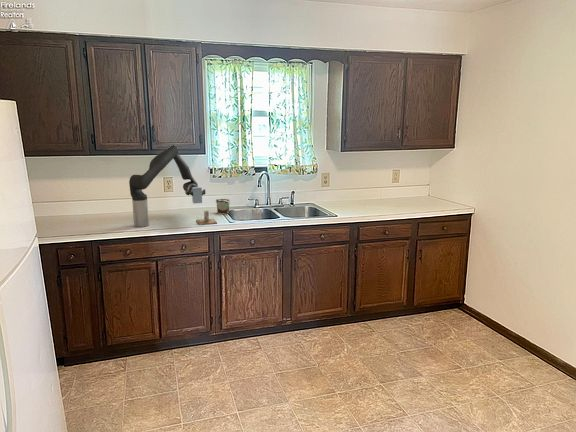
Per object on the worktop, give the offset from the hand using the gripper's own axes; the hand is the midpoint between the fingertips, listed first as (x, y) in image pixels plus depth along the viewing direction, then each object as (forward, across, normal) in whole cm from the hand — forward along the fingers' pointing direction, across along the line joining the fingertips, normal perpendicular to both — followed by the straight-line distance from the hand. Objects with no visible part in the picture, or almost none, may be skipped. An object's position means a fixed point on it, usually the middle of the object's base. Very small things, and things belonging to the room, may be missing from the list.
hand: (197, 194), depth 288 cm
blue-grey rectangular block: (-3, 0, +6) cm, 7 cm away
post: (-2, +6, +20) cm, 21 cm away
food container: (-28, +24, +20) cm, 42 cm away
